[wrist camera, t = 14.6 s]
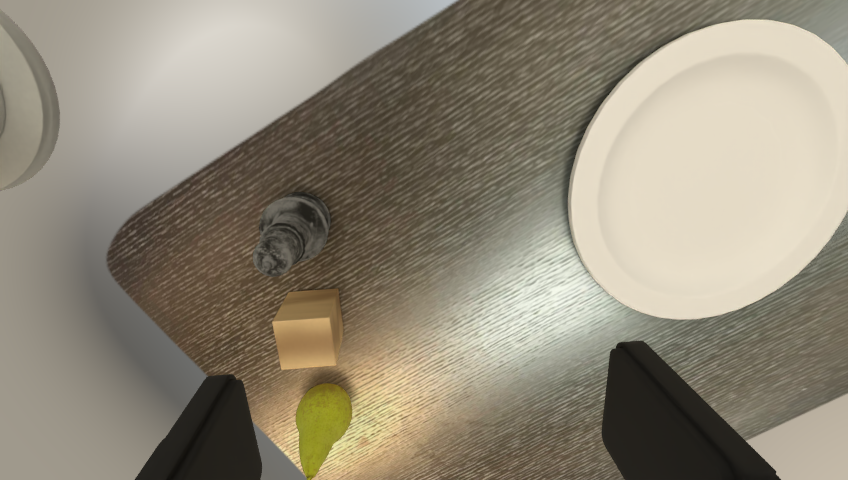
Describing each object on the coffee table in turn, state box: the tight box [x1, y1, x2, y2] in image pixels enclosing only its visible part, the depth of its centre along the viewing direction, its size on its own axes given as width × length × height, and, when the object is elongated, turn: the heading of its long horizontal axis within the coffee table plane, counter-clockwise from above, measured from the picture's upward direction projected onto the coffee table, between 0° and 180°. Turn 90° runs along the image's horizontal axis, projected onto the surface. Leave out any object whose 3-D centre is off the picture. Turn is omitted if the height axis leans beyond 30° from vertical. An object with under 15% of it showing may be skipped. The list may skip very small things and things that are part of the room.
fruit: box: [296, 383, 352, 480], centre depth 41 cm, size 6×6×12 cm
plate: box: [568, 19, 848, 320], centre depth 40 cm, size 28×28×2 cm
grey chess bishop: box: [253, 192, 331, 277], centre depth 34 cm, size 6×6×12 cm
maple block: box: [272, 288, 344, 370], centre depth 40 cm, size 5×5×6 cm
